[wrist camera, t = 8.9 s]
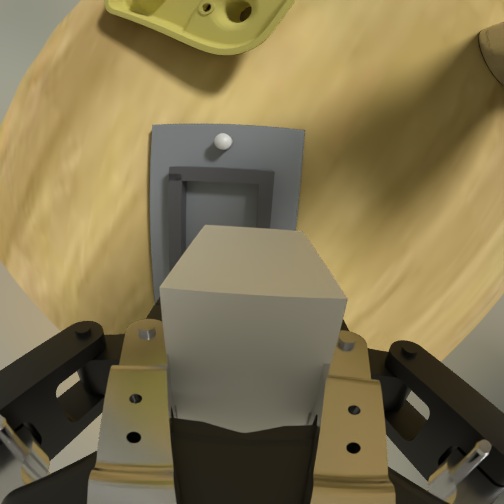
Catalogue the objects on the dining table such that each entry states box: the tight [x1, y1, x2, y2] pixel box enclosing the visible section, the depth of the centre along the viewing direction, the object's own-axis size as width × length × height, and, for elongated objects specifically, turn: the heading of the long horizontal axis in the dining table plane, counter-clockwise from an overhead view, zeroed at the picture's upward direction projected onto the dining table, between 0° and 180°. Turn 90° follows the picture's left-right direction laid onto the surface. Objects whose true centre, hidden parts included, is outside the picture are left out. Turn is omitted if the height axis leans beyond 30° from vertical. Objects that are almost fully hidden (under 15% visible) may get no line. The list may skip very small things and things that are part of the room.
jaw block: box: [159, 225, 348, 433], centre depth 9 cm, size 4×6×6 cm, turn 176°
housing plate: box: [150, 124, 305, 303], centre depth 26 cm, size 14×19×3 cm
